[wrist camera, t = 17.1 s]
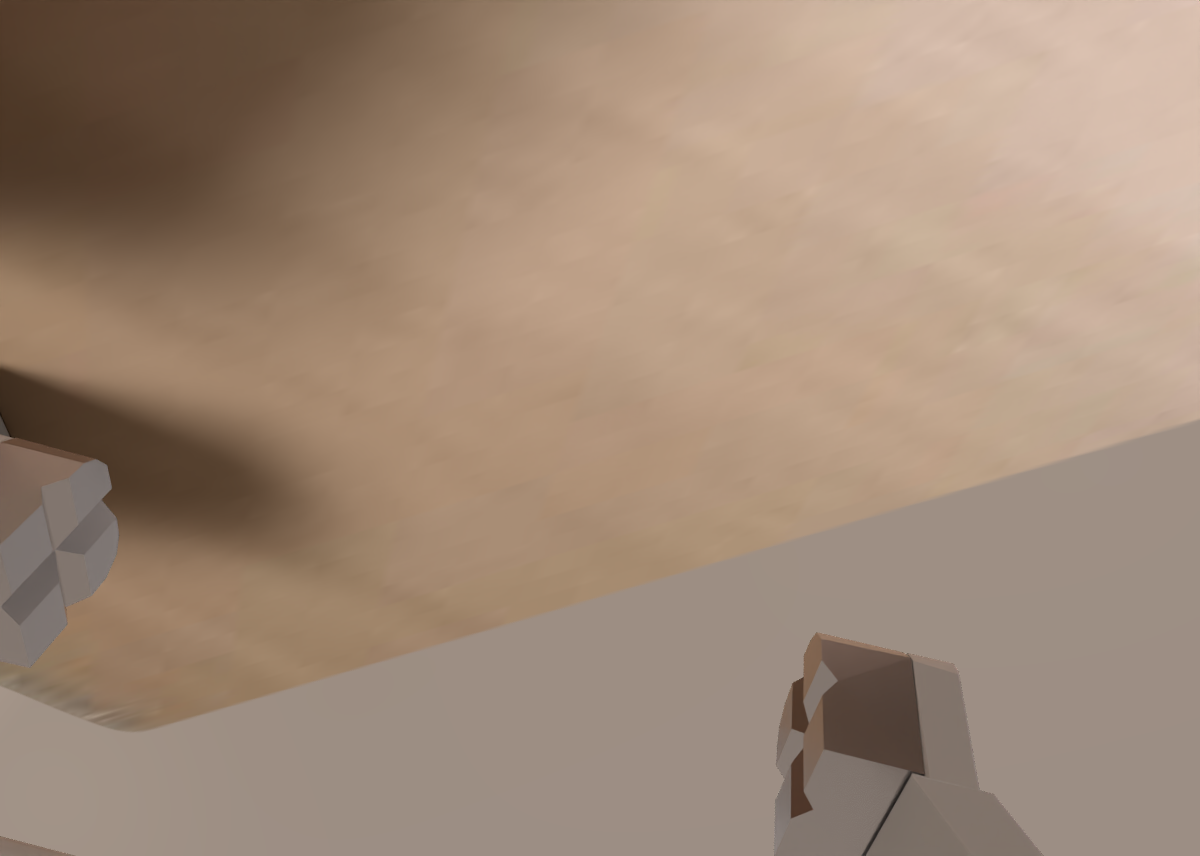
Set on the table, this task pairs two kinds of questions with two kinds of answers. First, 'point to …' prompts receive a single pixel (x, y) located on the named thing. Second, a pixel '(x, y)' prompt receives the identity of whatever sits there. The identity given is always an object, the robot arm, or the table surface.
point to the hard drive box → (3, 428)
